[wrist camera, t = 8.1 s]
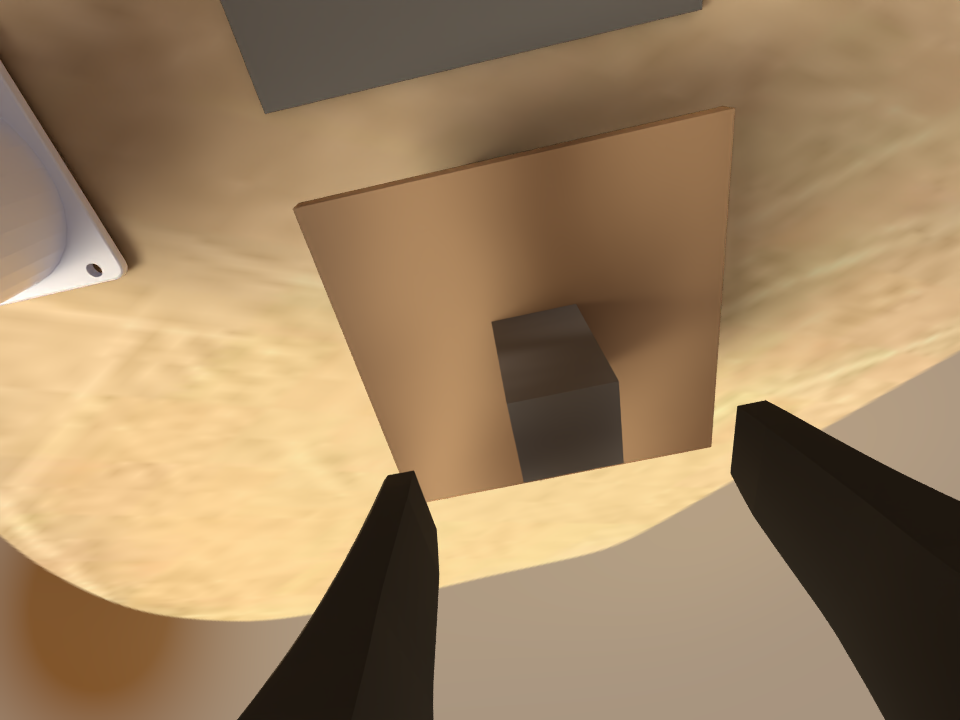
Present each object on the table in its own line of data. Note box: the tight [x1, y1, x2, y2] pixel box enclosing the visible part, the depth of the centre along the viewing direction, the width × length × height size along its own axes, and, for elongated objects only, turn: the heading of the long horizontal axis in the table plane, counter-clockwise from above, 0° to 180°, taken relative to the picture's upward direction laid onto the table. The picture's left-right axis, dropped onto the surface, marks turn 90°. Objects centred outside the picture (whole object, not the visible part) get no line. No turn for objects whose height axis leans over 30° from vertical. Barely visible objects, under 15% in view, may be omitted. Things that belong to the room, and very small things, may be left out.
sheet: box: [293, 106, 735, 502], centre depth 13 cm, size 11×11×5 cm
